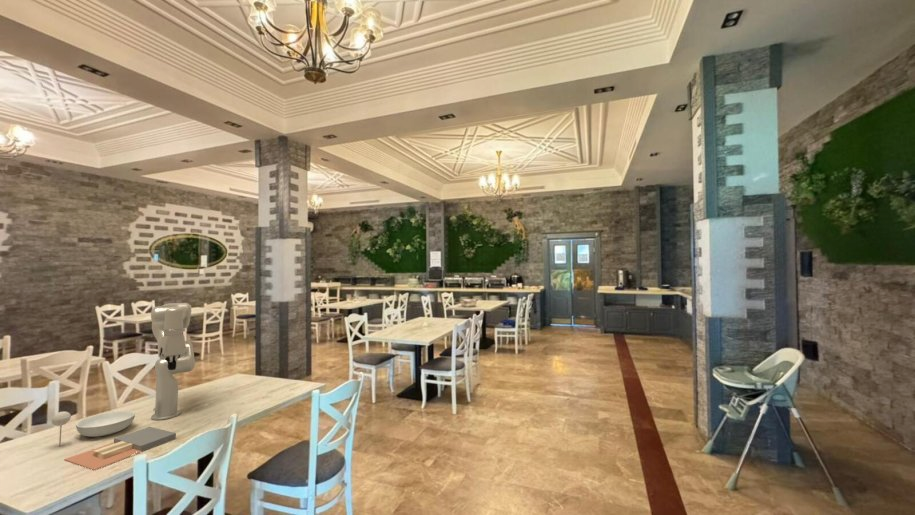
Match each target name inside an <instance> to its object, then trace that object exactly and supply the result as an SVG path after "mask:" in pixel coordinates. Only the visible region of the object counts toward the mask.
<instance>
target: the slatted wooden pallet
mask: <svg viewBox="0 0 915 515" xmlns="http://www.w3.org/2000/svg"><path fill="white" fill-rule="evenodd" d="M132 448H133V444H131V443H127V442H124V441H120V442H117V443H115V444H112V445H109V446H106V447H103V448H100V449H97V450H94V451H93V456H95V457H98V458H101V459H106V458H108V457H111V456H114V455H117V454H119V453H122V452H125V451H128V450H130V449H132Z"/></svg>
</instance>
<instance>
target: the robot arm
mask: <svg viewBox="0 0 915 515" xmlns="http://www.w3.org/2000/svg"><path fill="white" fill-rule="evenodd" d="M191 315H192V306H191V304H189V303H188V302H170V303H165V304H162V305H158V306H154V307H153V308H152V309H151V310H150V319H151V330H152V334H153V336H154V339H155V340H156V341H157V355H158V356H157V357H158V358H159V359H157V360H156V362H155V363H154V370H155V403H154V404H155V405H154V407H153V409H152V410H153V412H154V413H153V414H152V415H151V416H150V419H151V420H153V421H161V420H168V419H171V418H176V417H177V416H180V414H181V413H182V412H181V410H180V409H178V401H179V400H178V399H179V397H178V396H179V381H178V378H176V377H175V376H174V375H176V374H181V373H182V374H183V373H184V374H185V373H188V372H189V373H190V372H192V371H193V370H194V369H195V366H196V361H195V351H194V344H193V343H192V342H191V341H190V340H186V339H185V335H184V334H183V333H184V332H186V329H187V328H189V326H190V321H191V317H192V316H191Z"/></svg>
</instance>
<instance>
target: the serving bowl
mask: <svg viewBox="0 0 915 515" xmlns="http://www.w3.org/2000/svg"><path fill="white" fill-rule="evenodd" d="M135 417H136V412H135V411H133V410H115V411H107V412H103V413H102V412H101V413H97V414H95V415H91V416H88V417H85V418H82V419H80V420H78V421H77V422H76V424H75V428H76V431H77V433H78V434H79V435H82V436H85V437H104V436H108V435H112V434H115V433H118V432H120V431H122V430H124V429H126V428H128V427H129V426H130V425H131V424H132V423H133V421H134V419H135Z"/></svg>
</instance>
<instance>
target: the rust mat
mask: <svg viewBox="0 0 915 515" xmlns="http://www.w3.org/2000/svg"><path fill="white" fill-rule="evenodd" d="M112 444H115V443H114V442H111V443H108V444H105V445H102V446H99V447H96V448H93V449H90V450H87V451H84V452H82V453H78V454H75V455H73V456H69V457H66V458H64V459H63V460H64V461H65V462H68V463H71V464H75V465H77V466H79V465H80V467H82V466H83V468H85V467H86V469H88V468H89V469H88V470H91V469H92V470H91V471H94V470H95V471H97V470H100V469H102V468H104V466H105V467H107V466H106V465H108V466H110V465H113V464H115V462H116V463H118V462H120V460H121V461H123V460H125V459H124V458H126V457H129V458H131V457H132V456H131V455H132V454H134V453H135V454H136V455H139V454H141V453H140V452H142V453H143V451H139V450H136V449H130V450H128V451H125V452H122V453H119V454H117V455H114V456H111V457H108V458H106V459H101V458H98V457H95V456H93V451H94V450H97V449H100V448H103V447H106V446H109V445H112ZM136 451H137V453H136ZM130 456H131V457H130ZM122 459H123V460H122ZM126 459H127V458H126ZM117 461H118V462H117ZM112 463H113V464H112ZM109 464H110V465H109ZM101 467H102V468H101ZM99 468H100V469H99ZM96 469H97V470H96Z"/></svg>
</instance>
